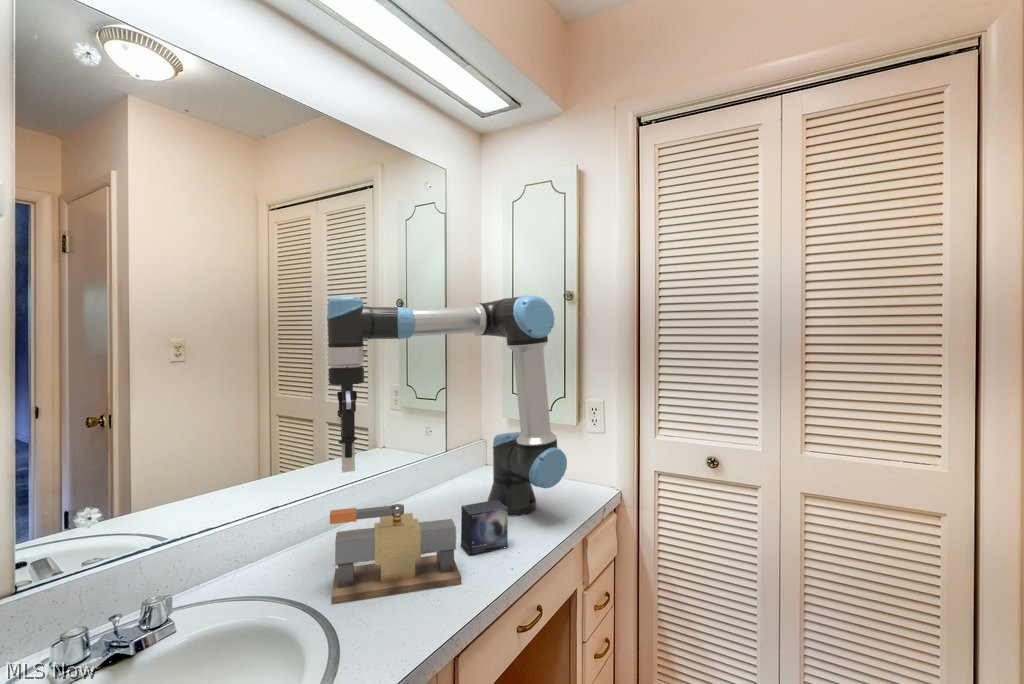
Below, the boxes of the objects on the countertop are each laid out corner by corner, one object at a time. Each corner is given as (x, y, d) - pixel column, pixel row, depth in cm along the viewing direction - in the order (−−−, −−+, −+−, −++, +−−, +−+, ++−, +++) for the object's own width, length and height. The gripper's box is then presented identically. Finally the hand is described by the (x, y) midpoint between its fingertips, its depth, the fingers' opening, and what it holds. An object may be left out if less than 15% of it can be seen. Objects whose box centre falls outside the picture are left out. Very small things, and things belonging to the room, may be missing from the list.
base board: (451, 559, 113) (451, 552, 113) (461, 584, 101) (461, 577, 101) (335, 575, 105) (335, 568, 105) (331, 604, 94) (331, 596, 94)
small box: (469, 557, 114) (469, 513, 114) (459, 546, 120) (459, 505, 120) (508, 548, 119) (508, 506, 119) (497, 538, 125) (497, 498, 125)
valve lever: (403, 511, 105) (403, 502, 105) (404, 516, 102) (404, 506, 102) (330, 519, 100) (330, 510, 100) (329, 524, 98) (329, 515, 98)
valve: (451, 557, 110) (451, 503, 110) (456, 571, 104) (456, 514, 104) (337, 573, 103) (336, 515, 103) (335, 589, 96) (334, 528, 96)
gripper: (366, 367, 102) (368, 476, 102) (361, 364, 114) (363, 461, 114) (329, 368, 99) (331, 481, 99) (327, 365, 111) (330, 465, 111)
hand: (348, 470), depth 107 cm, fingers closed
